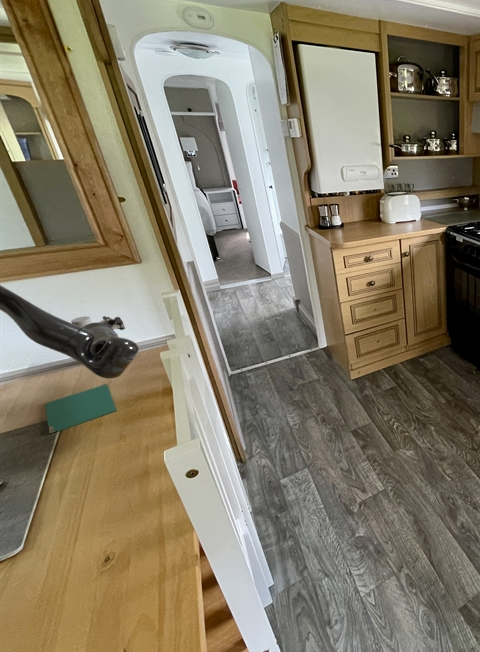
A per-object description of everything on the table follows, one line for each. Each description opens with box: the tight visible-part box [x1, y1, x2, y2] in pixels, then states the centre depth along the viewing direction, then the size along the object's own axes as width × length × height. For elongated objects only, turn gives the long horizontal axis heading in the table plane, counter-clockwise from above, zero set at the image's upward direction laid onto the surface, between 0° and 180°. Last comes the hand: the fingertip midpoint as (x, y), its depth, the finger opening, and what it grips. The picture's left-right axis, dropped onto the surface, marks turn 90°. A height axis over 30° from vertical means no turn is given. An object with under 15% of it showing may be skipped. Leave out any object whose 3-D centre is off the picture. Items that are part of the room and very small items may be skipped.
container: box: [70, 316, 93, 327], centre depth 126 cm, size 5×5×15 cm
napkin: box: [45, 383, 117, 433], centre depth 105 cm, size 18×13×1 cm
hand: (86, 323), depth 116 cm, fingers open, 8 cm apart
